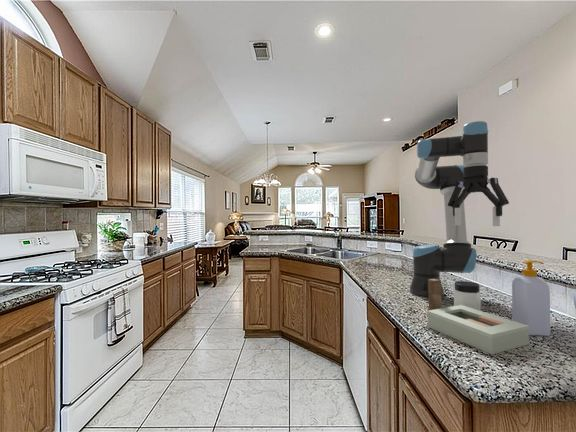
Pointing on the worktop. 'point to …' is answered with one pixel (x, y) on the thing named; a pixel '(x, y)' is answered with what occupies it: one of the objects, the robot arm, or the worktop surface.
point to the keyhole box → (479, 328)
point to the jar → (467, 295)
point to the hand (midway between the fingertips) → (476, 225)
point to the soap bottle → (531, 301)
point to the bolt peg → (434, 294)
